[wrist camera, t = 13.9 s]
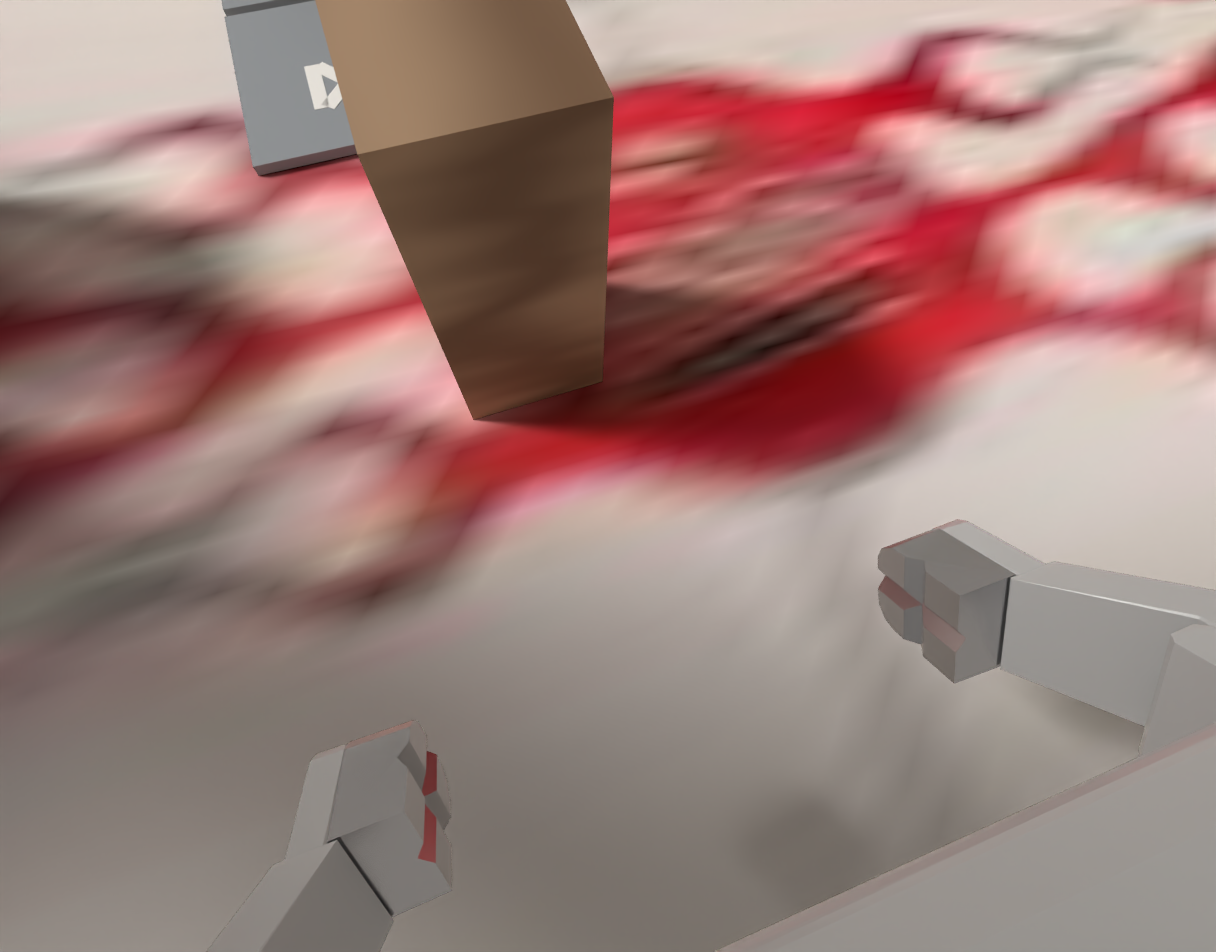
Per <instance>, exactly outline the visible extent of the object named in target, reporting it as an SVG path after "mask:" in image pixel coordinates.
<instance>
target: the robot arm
mask: <svg viewBox="0 0 1216 952" xmlns="http://www.w3.org/2000/svg"><path fill="white" fill-rule="evenodd" d="M878 569H879V570H880V571H881V572H882V573H883V574H884V575H886V576H885V577H884V579H883V581H882V583H881V584H880V586H879V588H878V598H879V605H880V608H881V610H882V613H883V615H884V617H885V619H886V621H887V622H888V623H889V625H890V626H891V627H892V629H893V630H894V631H895V632H896V633H898V634H899V635H900V636H901V637H902V638H903V639H905V640H909V641H912V642H915V643H918V644H921V647H922V653H923V657H924V658H925V659H927V660H928V661H929V662H930V663H931V664H932V665H933V666H935V667H936V668H937V669H938V670H939V671H940V672H941V673H943V674H944V675H945V676H946V677H947V678H948V679H949V680H951V681H952V682H953V683H957V682H959V681H962V680H965V679H967V678H970V677H973V676H975V675H978V674H981V673H983V672H986V671H989V670H991V669H994V668H997V667H999V666H1000V669H1001V670H1004V671H1006V672H1009V673H1011V674H1014V675H1016V676H1019V677H1021V678H1024V679H1026V680H1029V681H1031V682H1034V683H1036V684H1039V685H1041V686H1044V687H1046V688H1049V689H1051V690H1054V691H1056V692H1059V693H1061V694H1064V695H1066V696H1069V697H1071V698H1074V699H1076V700H1079V701H1081V702H1084V703H1086V704H1089V705H1091V706H1094V707H1096V708H1099V709H1101V710H1104V711H1106V712H1109V713H1111V714H1114V715H1116V716H1119V717H1121V718H1124V719H1126V720H1129V721H1131V722H1134V723H1136V724H1139V725H1141V726H1144V727H1145V728H1144V732H1143V735H1142V739H1141V742H1140V746H1139V749H1138V751H1139V757H1137V758H1135V759H1133V760H1131V761H1129V762H1127V763H1124V764H1122V765H1120V766H1118V767H1116V768H1113V769H1111V770H1109V771H1107V772H1105V773H1103V774H1100V775H1098V776H1096V777H1094V778H1092V779H1089V780H1087V781H1085V782H1083V783H1081V784H1079V785H1076V786H1074V787H1072V788H1070V789H1068V790H1065V791H1063V792H1061V793H1059V794H1057V795H1054V796H1052V797H1050V798H1048V799H1046V800H1043V801H1041V802H1039V803H1037V804H1035V805H1033V806H1030V807H1028V808H1026V809H1024V810H1022V811H1019V812H1017V813H1015V814H1013V815H1011V816H1008V817H1006V818H1004V819H1002V820H1000V821H998V822H995V823H993V824H991V825H989V826H987V827H984V828H982V829H980V830H978V831H976V832H973V833H971V834H969V835H967V836H965V837H963V838H960V839H958V840H956V841H954V842H952V843H949V844H947V845H945V846H943V847H941V848H938V849H936V850H934V851H932V852H930V853H928V854H925V855H923V856H921V857H919V858H917V859H914V860H912V861H910V862H908V863H906V864H903V865H901V866H899V867H897V868H895V869H893V870H890V871H888V872H886V873H884V874H882V875H879V876H877V877H875V878H873V879H871V880H868V881H866V882H864V883H862V884H860V885H858V886H855V887H853V888H851V889H849V890H847V891H844V892H842V893H840V894H838V895H836V896H834V897H831V898H829V899H827V900H825V901H823V902H821V903H818V904H816V905H814V906H812V907H810V908H807V909H805V910H803V911H801V912H799V913H797V914H794V915H792V916H790V917H788V918H786V919H783V920H781V921H779V922H777V923H775V924H773V925H770V926H768V927H766V928H764V929H762V930H760V931H757V932H755V933H753V934H751V935H749V936H746V937H744V938H742V939H740V940H738V941H736V942H733V943H731V944H729V945H727V946H725V947H722V948H720V949H718V950H716V951H714V952H1216V590H1211V589H1206V588H1200V587H1194V586H1189V585H1183V584H1178V583H1172V582H1167V581H1161V580H1155V579H1150V578H1144V577H1139V576H1133V575H1128V574H1122V573H1116V572H1111V571H1105V570H1100V569H1094V568H1089V567H1083V566H1077V565H1072V564H1066V563H1061V562H1055V561H1053V562H1051V563H1048V564H1045V563H1043V562H1041V561H1039V560H1037V559H1036V558H1034V557H1032V556H1030V555H1028V554H1026V553H1025V552H1023V551H1021V550H1019V549H1017V548H1016V547H1014V546H1012V545H1010V544H1008V543H1006V542H1005V541H1003V540H1001V539H999V538H997V537H996V536H994V535H992V534H990V533H988V532H986V531H985V530H983V529H981V528H979V527H977V526H976V525H974V524H972V523H970V522H968V521H964V520H958V519H957V520H954V521H952V522H949V523H947V524H944V525H942V526H939V527H936V528H934V529H932V530H931V531H927V532H924V533H922V534H919V535H916V536H914V537H911V538H908V539H906V540H903V541H900V542H898V543H895V544H892V545H890V546H887V547H884V548H882V549H881V551H880V553H879V555H878ZM450 818H451V799H450V793H449V788H448V782H447V778H446V775H445V772H444V769H443V766H442V764H441V762H440V760H439V758H438V756H437V755H436V754H433V753H431V752H428V751H427V735H426V733H425V732H424V730H423V728H422V726H421V725H420V723H419V721H415V720H412V721H409V722H406V723H403V724H400V725H397V726H394V727H392V728H389V729H386V730H383V731H380V732H377V733H374V734H371V735H368V736H365V737H362V738H359V739H356V740H353V741H350V742H349V743H347V744H344V745H341V746H338V747H335V748H332V749H329V750H326V751H323V752H320V753H317V754H316V755H315V756H314V757H313V759H312V760H311V761H310V763H309V766H308V770H307V774H306V778H305V782H304V786H303V789H302V793H301V797H300V801H299V805H298V809H297V813H296V817H295V821H294V825H293V829H292V833H291V836H290V840H289V844H288V848H287V852H286V856H285V860H283V861H281V862H278V863H276V864H274V865H273V866H272V867H271V868H270V870H269V871H268V872H267V874H266V875H265V876H264V877H263V879H262V880H261V881H260V883H259V884H258V885H257V886H256V888H255V889H254V890H253V892H252V893H251V894H250V896H249V897H248V898H247V899H246V901H245V902H244V903H243V905H242V906H241V907H240V908H239V910H238V911H237V912H236V914H235V915H234V916H233V918H232V919H231V920H230V921H229V923H228V924H227V925H226V927H225V928H224V929H223V931H222V932H221V933H220V934H219V936H218V937H217V938H216V940H215V941H214V942H213V943H212V945H211V946H210V947H209V949H208V950H207V951H206V952H380V950H381V947H382V945H383V943H384V941H385V939H386V937H387V934H388V932H389V930H390V928H391V926H392V923H393V921H394V920H393V918H392V917H394V916H396V915H398V914H400V913H403V912H405V911H407V910H409V909H412V908H414V907H416V906H418V905H421V904H423V903H425V902H427V901H430V900H432V899H434V898H436V897H439V896H441V895H443V894H445V893H448V892H450V891H452V846H451V844H450V842H449V840H448V838H447V836H446V834H445V833H444V829H445V827H446V825H447V824H448V822H449V820H450Z"/></svg>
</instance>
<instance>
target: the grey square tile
mask: <svg viewBox="0 0 1216 952" xmlns="http://www.w3.org/2000/svg"><path fill="white" fill-rule="evenodd" d="M225 22H226V27H227V32H228V37H229V43H230V48H231V53H232V58H233V64H234V69H235V74H236V80H237V85H238V90H239V95H240V101H241V106H242V111H243V117H244V122H245V127H246V132H247V138H248V143H249V148H250V154H251V159H252V164H253V168H254V169H255V171H256V172H257V174H258V175H264V174H268V173H273V172H277V171H282V170H286V169H291V168H295V167H300V166H304V165H309V164H313V163H318V162H322V161H327V160H331V159H336V158H340V157H345V156H349V155H353V154H357V151H356V147H355V144H354V140H353V136H352V133H351V129H350V126H349V122H348V118H347V115H346V111H345V107H344V104H343V100H342V96H341V93H340V89H339V85H338V82H337V78H336V74H335V71H334V67H333V64H332V60H331V56H330V53H329V49H328V45H327V42H326V38H325V34H324V31H323V27H322V23H321V20H320V16H319V13H318V9H317V5H316V2H315V0H314V1H309V2H303V3H298V4H292V5H287V6H281V7H276V8H270V9H265V10H259V11H254V12H249V13H243V14H238V15H232V16H227V17H225Z"/></svg>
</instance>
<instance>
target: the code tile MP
mask: <svg viewBox="0 0 1216 952" xmlns="http://www.w3.org/2000/svg"><path fill="white" fill-rule="evenodd" d="M309 1H314V0H222V6H223V10H224V12H225V14H226V16H232V15H238V14H243V13H249V12H254V11H259V10H265V9H270V8H276V7H281V6H287V5H292V4H298V3H303V2H309Z"/></svg>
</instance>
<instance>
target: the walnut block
mask: <svg viewBox="0 0 1216 952" xmlns="http://www.w3.org/2000/svg"><path fill="white" fill-rule="evenodd" d="M315 2H316V5H317V9H318V13H319V16H320V20H321V23H322V27H323V31H324V34H325V38H326V42H327V45H328V49H329V53H330V56H331V60H332V64H333V67H334V71H335V74H336V78H337V82H338V85H339V89H340V93H341V96H342V100H343V104H344V107H345V111H346V115H347V118H348V122H349V126H350V129H351V133H352V136H353V140H354V144H355V147H356V151H357V155H358V157H359V159H360V161H361V164H362V166H363V168H364V171H365V173H366V175H367V177H368V180H369V182H370V184H371V187H372V189H373V191H374V193H375V196H376V198H377V200H378V203H379V205H380V207H381V209H382V212H383V214H384V216H385V219H386V221H387V223H388V225H389V228H390V230H391V232H392V235H393V237H394V239H395V241H396V244H397V246H398V248H399V251H400V253H401V255H402V257H403V260H404V262H405V264H406V267H407V269H408V271H409V273H410V276H411V278H412V280H413V283H414V285H415V287H416V289H417V292H418V294H419V296H420V299H421V301H422V303H423V305H424V308H425V310H426V312H427V315H428V317H429V319H430V321H431V324H432V326H433V328H434V331H435V333H436V335H437V337H438V340H439V342H440V344H441V347H442V349H443V351H444V353H445V356H446V358H447V360H448V363H449V365H450V367H451V369H452V372H453V374H454V376H455V379H456V381H457V383H458V385H459V388H460V390H461V392H462V395H463V397H464V399H465V401H466V404H467V406H468V408H469V411H470V413H471V415H472V417H473V420H475V419H478V418H481V417H485V416H488V415H491V414H495V413H498V412H501V411H505V410H508V409H512V408H515V407H518V406H522V405H525V404H528V403H532V402H535V401H538V400H542V399H545V398H548V397H552V396H555V395H559V394H562V393H565V392H569V391H572V390H575V389H579V388H582V387H585V386H589V385H592V384H596V383H599V382H602V381H603V359H604V333H605V308H606V282H607V256H608V230H609V205H610V179H611V153H612V127H613V102H614V97H613V95H612V93H611V91H610V89H609V87H608V85H607V83H606V81H605V79H604V77H603V75H602V73H601V71H600V69H599V67H598V65H597V63H596V61H595V59H594V57H593V55H592V53H591V51H590V49H589V47H588V44H587V42H586V40H585V38H584V36H583V34H582V32H581V30H580V28H579V26H578V24H577V22H576V20H575V18H574V16H573V14H572V12H571V10H570V8H569V6H568V4H567V2H566V0H315Z"/></svg>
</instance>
